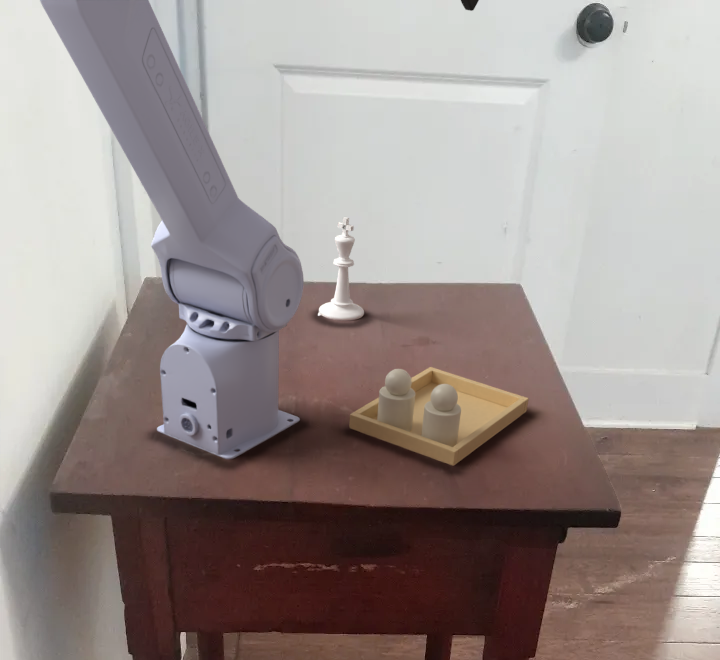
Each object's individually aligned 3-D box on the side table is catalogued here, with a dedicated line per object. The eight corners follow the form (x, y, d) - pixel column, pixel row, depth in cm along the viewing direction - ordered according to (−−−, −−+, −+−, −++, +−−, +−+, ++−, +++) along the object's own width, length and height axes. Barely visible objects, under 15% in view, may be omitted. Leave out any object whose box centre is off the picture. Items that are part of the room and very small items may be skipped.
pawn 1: (399, 438, 82) (405, 380, 79) (369, 427, 83) (374, 370, 80) (418, 426, 84) (424, 369, 81) (389, 415, 85) (393, 359, 82)
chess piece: (345, 328, 102) (350, 228, 96) (308, 316, 104) (311, 216, 98) (373, 316, 105) (380, 218, 99) (337, 304, 107) (341, 207, 101)
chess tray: (452, 470, 79) (455, 451, 78) (348, 432, 83) (349, 414, 82) (525, 415, 88) (529, 398, 87) (428, 383, 92) (430, 366, 91)
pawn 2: (445, 454, 80) (452, 396, 77) (414, 443, 82) (420, 385, 78) (463, 441, 82) (471, 384, 79) (432, 431, 84) (439, 374, 80)
